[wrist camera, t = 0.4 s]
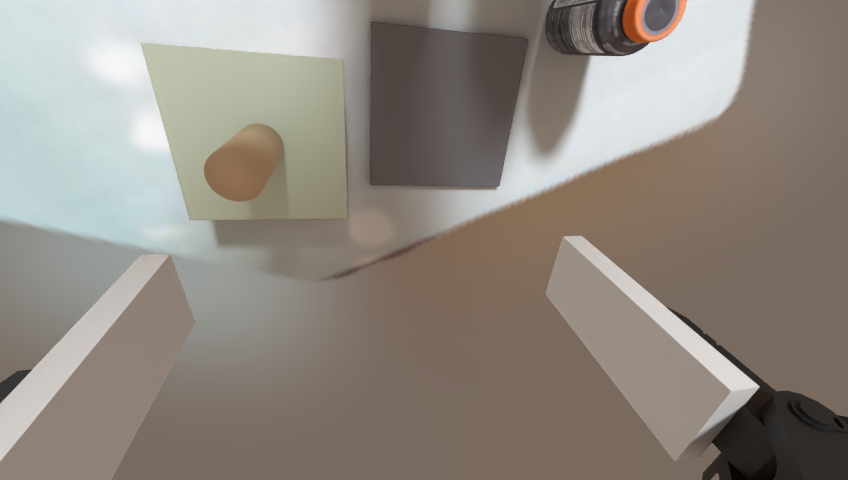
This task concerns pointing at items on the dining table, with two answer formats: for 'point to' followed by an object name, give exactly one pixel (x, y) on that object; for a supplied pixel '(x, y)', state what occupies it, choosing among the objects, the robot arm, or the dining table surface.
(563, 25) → the pill bottle
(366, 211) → the dining table surface
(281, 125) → the lid
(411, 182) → the mat
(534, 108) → the dining table surface
